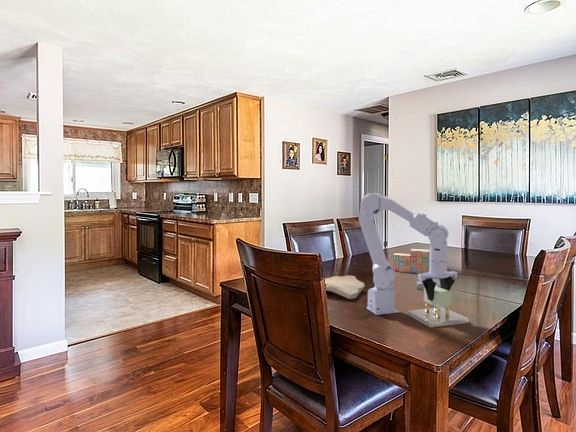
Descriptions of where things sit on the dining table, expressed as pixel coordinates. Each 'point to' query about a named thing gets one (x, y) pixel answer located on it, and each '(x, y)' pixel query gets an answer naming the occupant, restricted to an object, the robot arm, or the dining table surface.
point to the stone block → (421, 286)
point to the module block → (439, 297)
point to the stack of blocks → (412, 261)
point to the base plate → (437, 316)
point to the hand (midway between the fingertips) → (437, 299)
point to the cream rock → (344, 286)
